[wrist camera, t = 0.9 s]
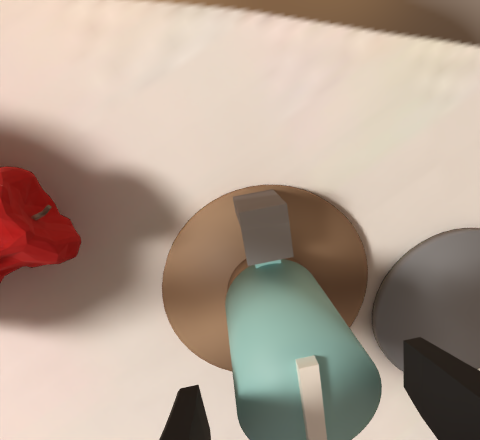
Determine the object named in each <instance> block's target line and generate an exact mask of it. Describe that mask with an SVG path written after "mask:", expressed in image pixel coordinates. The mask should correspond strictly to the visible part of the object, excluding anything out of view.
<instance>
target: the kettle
mask: <svg viewBox="0 0 480 440" xmlns="http://www.w3.org/2000/svg"><path fill="white" fill-rule="evenodd" d="M225 310H226V319H227V327H228V336H229V345H230V354H231V363H232V371H233V380H234V389H235V398H236V407H237V415H238V420H239V423H240V426H241V428H242V430H243V432H244V433H245V435H246V436H247V437H248V438H249V439H250V440H352V439H353V438H354V437H355V436H357V435H358V434H359V433H360V432H361V431H362V430H363V429H364V428H365V427H366V426H367V424H368V423H369V422H370V420H371V419H372V418H373V416H374V414H375V412H376V410H377V408H378V405H379V402H380V398H381V388H382V386H381V378H380V375H379V372H378V370H377V368H376V366H375V364H374V363H373V361H372V360H371V358H370V357H369V355H368V354H367V353H366V351H365V350H364V348H363V347H362V345H361V344H360V342H359V341H358V340H357V338H356V337H355V335H354V334H353V332H352V331H351V330H350V328H349V327H348V325H347V324H346V322H345V321H344V320H343V318H342V317H341V315H340V314H339V312H338V311H337V309H336V308H335V307H334V305H333V304H332V302H331V301H330V299H329V298H328V297H327V295H326V294H325V292H324V291H323V289H322V288H321V287H320V285H319V284H318V282H317V281H316V279H315V278H314V277H313V275H312V274H311V273H310V272H309V271H308V270H307V269H306V268H305V267H303V266H302V265H300V264H298V263H296V262H293V261H290V260H286V259H281V260H276V261H271V262H266V263H261V264H256V265H251V266H249V267H247V268H246V269H245V270H243V271H242V272H241V273H240V274H239V275H238V276H237V277H236V278H235V279H234V281H233V282H232V284H231V285H230V287H229V289H228V292H227V295H226V301H225Z"/></svg>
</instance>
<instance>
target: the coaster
mask: <svg viewBox="0 0 480 440" xmlns="http://www.w3.org/2000/svg"><path fill="white" fill-rule="evenodd" d="M372 324H373V332H374V335H375V338H376V341H377V343H378V345H379V347H380V348H381V350H382V351H383V353H384V354H385V355H386V357H387V358H388V359H389V360H390V361H391V362H392V363H393V364H394V365H395V366H396V367H397V368H399V369H400V370H401V371H403V372H404V358H403V340H408V339H412V338H417V337H421V338H423V339H425V340H427V341H429V342H430V343H432V344H434V345H436V346H437V347H439V348H441V349H442V350H444V351H446V352H448V353H449V354H451V355H453V356H454V357H456V358H458V359H460V360H461V361H463V362H465V363H467V364H468V365H470V366H472V367H474V368H475V369H479V368H480V229H479V228H462V229H454V230H450V231H446V232H443V233H440V234H438V235H435V236H433V237H430V238H429V239H427V240H425V241H423V242H421V243H420V244H418V245H417V246H415V247H414V248H412V249H411V250H410V251H408V252H407V253H406V254H405V255H404V256H403V257H402V258H401V259H400V260H399V261H398V262H397V263H396V264H395V265H394V266H393V267H392V269H391V270H390V271H389V273H388V274H387V275H386V277H385V279H384V280H383V282H382V284H381V286H380V288H379V290H378V293H377V296H376V299H375V302H374V307H373V313H372Z"/></svg>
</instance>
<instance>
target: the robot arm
mask: <svg viewBox="0 0 480 440" xmlns="http://www.w3.org/2000/svg"><path fill="white" fill-rule="evenodd" d="M403 358H404V388H405V390H406V391H407V393H408V395H409V397H410V398H411V400H412V402H413V404H414V405H415V407H416V408H417V410H418V412H419V413H420V415H421V417H422V418H423V419H424V421H425V422H426V424H427V425H428V426H429V428H430V429H431V430H432V432H433V433H434V435H435V436H436V437H437V439H438V440H480V371H479V370H477V369H475V368H474V367H472V366H470V365H468V364H467V363H465V362H463V361H461V360H460V359H458V358H456V357H454V356H453V355H451V354H449V353H448V352H446V351H444V350H442V349H441V348H439V347H437V346H436V345H434V344H432V343H430V342H429V341H427V340H425V339H423V338H421V337H417V338H412V339H408V340H403ZM159 440H211V436H210V427H209V424H208V420H207V416H206V412H205V408H204V405H203V401H202V397H201V393H200V389H199V386H198V385H195V386H190V387H186V388H181V389H180V390H179V391H178V393H177V396H176V399H175V402H174V405H173V407H172V410H171V413H170V415H169V418H168V420H167V423H166V425H165V428H164V430H163V433H162V435H161V437H160V439H159Z"/></svg>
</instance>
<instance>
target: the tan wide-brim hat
mask: <svg viewBox="0 0 480 440" xmlns="http://www.w3.org/2000/svg"><path fill="white" fill-rule="evenodd" d="M281 259H286V260H290V261H293V262H296V263H298V264H300V265H302V266H303V267H305V268H306V269H307V270H308V271H309V272H310V273H311V274H312V275H313V277H314V278H315V279H316V281H317V282H318V284H319V285H320V287H321V288H322V289H323V291H324V292H325V294H326V295H327V297H328V298H329V299H330V301H331V302H332V304H333V305H334V307H335V308H336V309H337V311H338V312H339V314H340V315H341V317H342V318H343V320H344V321H345V322H346V324H347V325H348V327H350V326H351V325H352V323H353V321H354V319H355V318H356V316H357V314H358V312H359V310H360V308H361V305H362V303H363V299H364V296H365V293H366V287H367V277H368V267H367V259H366V254H365V251H364V247H363V244H362V242H361V240H360V237H359V235H358V233H357V232H356V230H355V228H354V227H353V225H352V224H351V223H350V221H349V220H348V219H347V218H346V217H345V216H344V215H343V214H342V213H341V212H340V211H339V210H338V209H336V208H335V207H334V206H333V205H331V204H330V203H328V202H327V201H325V200H324V199H322V198H320V197H319V196H317V195H315V194H312V193H310V192H308V191H305V190H302V189H298V188H295V187H290V186H283V185H258V186H250V187H246V188H242V189H239V190H235V191H233V192H230V193H228V194H225V195H223V196H221V197H219V198H217V199H215V200H214V201H212V202H210V203H209V204H207V205H206V206H205V207H203V208H202V209H201V210H199V211H198V212H197V213H196V214H195V215H194V216H193V217H192V218H191V219H190V220H189V221H188V222H187V223H186V224H185V226H184V227H183V228H182V230H181V231H180V232H179V234H178V236H177V237H176V239H175V241H174V242H173V244H172V247H171V249H170V252H169V254H168V257H167V261H166V265H165V269H164V273H163V282H162V295H163V302H164V308H165V312H166V314H167V317H168V320H169V322H170V324H171V326H172V328H173V330H174V332H175V333H176V335H177V336H178V337H179V339H180V340H181V341H182V342H183V343H184V344H185V345H186V346H187V347H188V349H189V350H191V351H192V352H193V353H194V354H196V355H197V356H198V357H200V358H201V359H203V360H205V361H206V362H208V363H210V364H212V365H215V366H217V367H219V368H222V369H225V370H229V371H232V363H231V354H230V345H229V336H228V327H227V319H226V310H225V301H226V295H227V292H228V289H229V287H230V285H231V284H232V282H233V281H234V279H235V278H236V277H237V276H238V275H239V274H240V273H241V272H242V271H243V270H245V269H246V268H247V267H249V266H251V265H256V264H261V263H266V262H271V261H276V260H281ZM232 372H233V371H232Z"/></svg>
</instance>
